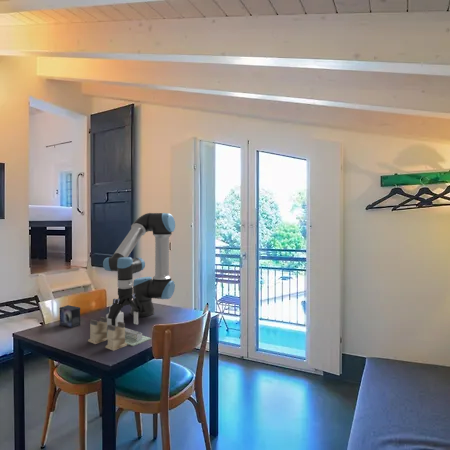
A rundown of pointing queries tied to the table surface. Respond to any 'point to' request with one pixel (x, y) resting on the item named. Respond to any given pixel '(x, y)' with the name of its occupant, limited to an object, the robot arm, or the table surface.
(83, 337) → the table surface
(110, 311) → the robot arm
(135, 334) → the rail
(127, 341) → the mat
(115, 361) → the table surface
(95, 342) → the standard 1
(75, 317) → the small box
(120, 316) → the medicine bottle
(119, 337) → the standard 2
